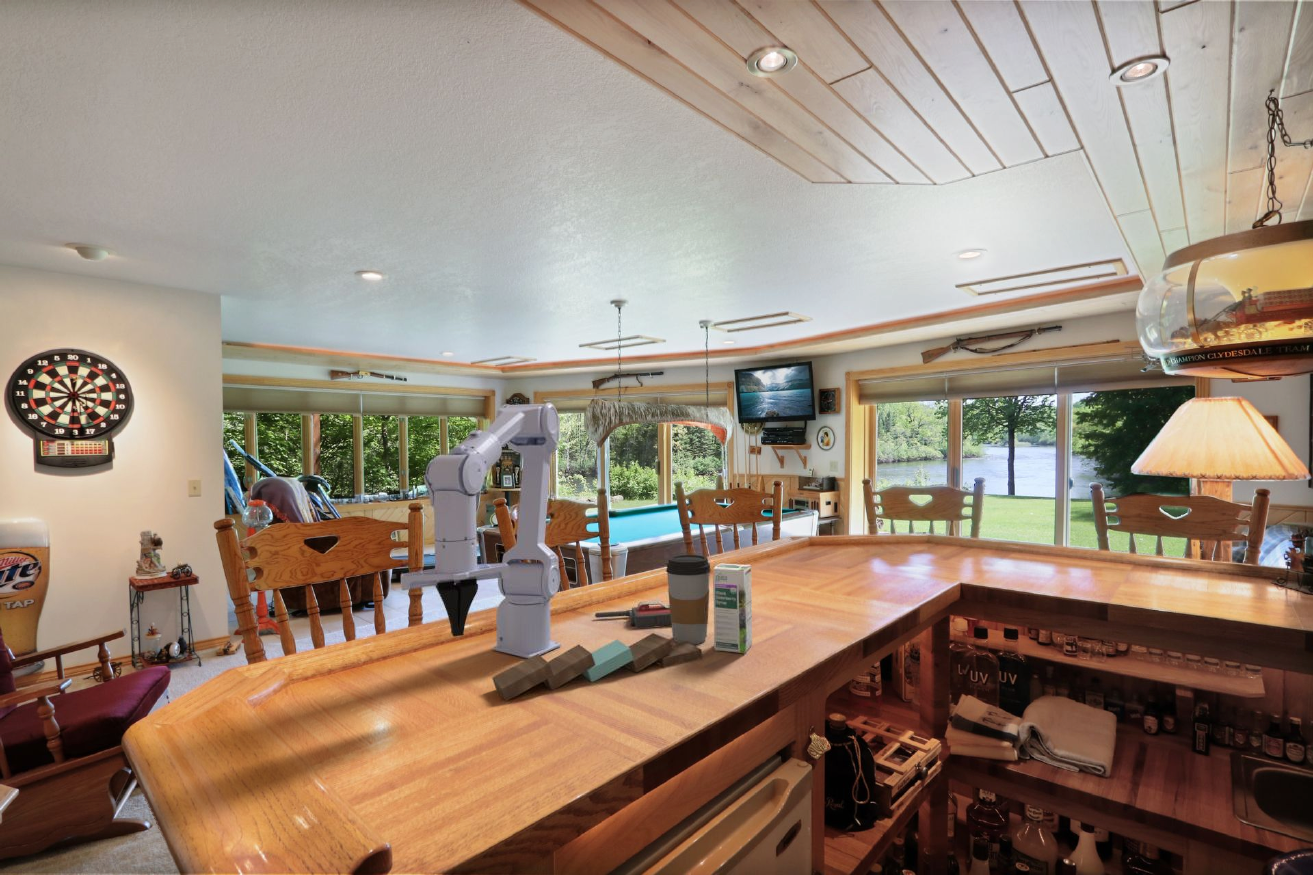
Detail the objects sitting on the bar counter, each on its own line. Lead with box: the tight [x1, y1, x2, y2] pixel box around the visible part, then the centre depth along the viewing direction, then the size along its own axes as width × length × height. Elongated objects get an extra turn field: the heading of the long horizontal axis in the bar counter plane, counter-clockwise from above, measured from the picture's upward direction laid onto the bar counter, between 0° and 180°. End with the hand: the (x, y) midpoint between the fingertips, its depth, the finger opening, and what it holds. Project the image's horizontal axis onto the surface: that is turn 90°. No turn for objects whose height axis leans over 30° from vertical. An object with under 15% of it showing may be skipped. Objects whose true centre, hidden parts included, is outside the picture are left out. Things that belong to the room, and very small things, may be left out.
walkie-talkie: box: [594, 600, 672, 629], centre depth 124 cm, size 9×4×20 cm
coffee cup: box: [665, 554, 712, 645], centre depth 112 cm, size 8×8×15 cm
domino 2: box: [542, 644, 595, 691], centre depth 94 cm, size 2×5×8 cm
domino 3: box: [581, 639, 634, 683], centre depth 97 cm, size 2×5×8 cm
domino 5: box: [654, 642, 703, 668], centre depth 103 cm, size 2×5×8 cm
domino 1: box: [491, 654, 553, 702], centre depth 90 cm, size 2×5×8 cm
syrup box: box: [712, 563, 753, 655], centre depth 108 cm, size 6×6×14 cm
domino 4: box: [623, 633, 673, 673], centre depth 100 cm, size 2×5×8 cm
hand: (457, 633), depth 86 cm, fingers closed
